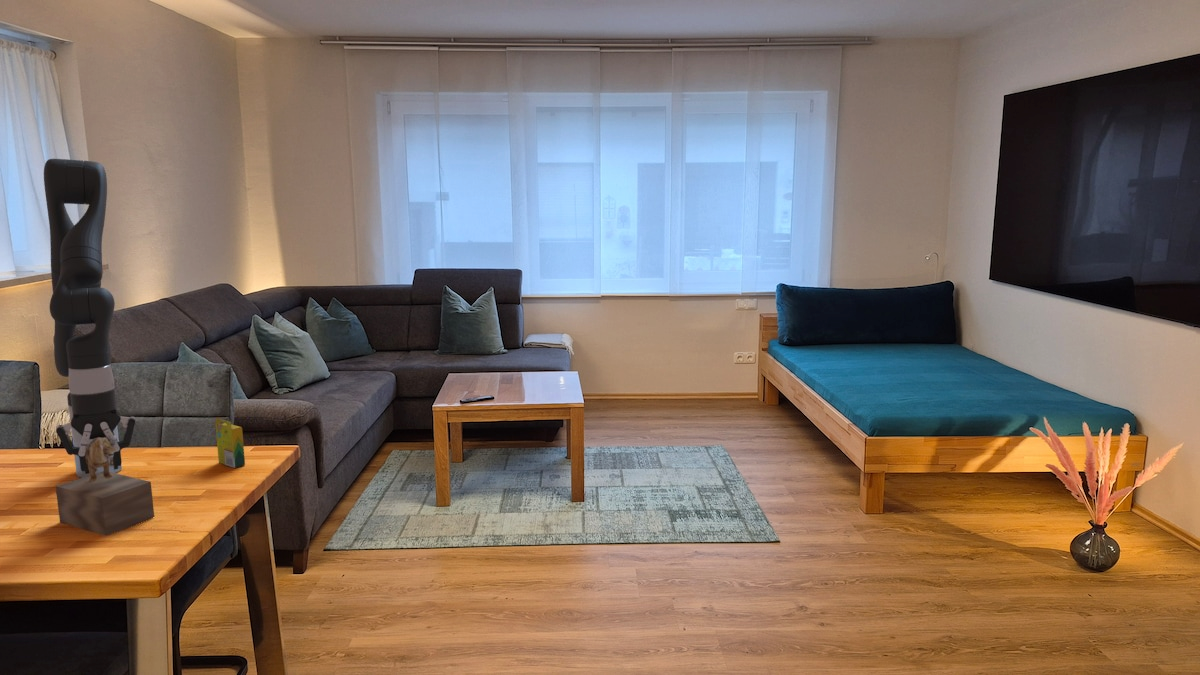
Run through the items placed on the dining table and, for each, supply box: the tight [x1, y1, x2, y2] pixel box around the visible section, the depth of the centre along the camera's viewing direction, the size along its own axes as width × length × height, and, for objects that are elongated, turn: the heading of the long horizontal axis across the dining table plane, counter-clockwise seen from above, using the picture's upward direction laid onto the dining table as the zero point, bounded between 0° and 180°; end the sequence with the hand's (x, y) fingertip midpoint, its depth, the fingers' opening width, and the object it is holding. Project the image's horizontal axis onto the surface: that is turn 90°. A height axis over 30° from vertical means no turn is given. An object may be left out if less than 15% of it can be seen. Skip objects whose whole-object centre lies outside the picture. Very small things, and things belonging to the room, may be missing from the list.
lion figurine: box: [85, 438, 116, 482], centre depth 161 cm, size 15×5×9 cm, turn 35°
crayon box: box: [214, 417, 246, 469], centre depth 195 cm, size 7×3×12 cm, turn 54°
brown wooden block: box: [55, 471, 155, 537], centre depth 162 cm, size 15×10×8 cm, turn 64°
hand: (101, 469), depth 161 cm, fingers closed on lion figurine, 4 cm apart
